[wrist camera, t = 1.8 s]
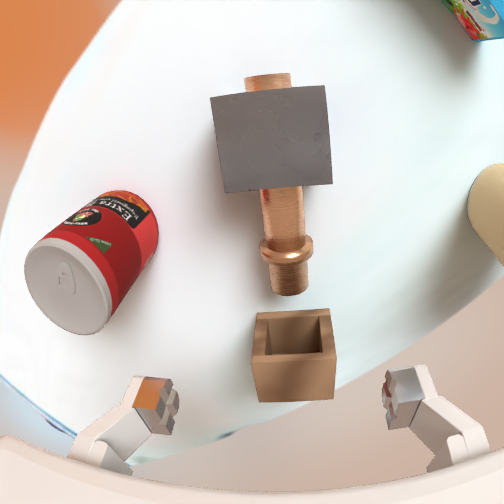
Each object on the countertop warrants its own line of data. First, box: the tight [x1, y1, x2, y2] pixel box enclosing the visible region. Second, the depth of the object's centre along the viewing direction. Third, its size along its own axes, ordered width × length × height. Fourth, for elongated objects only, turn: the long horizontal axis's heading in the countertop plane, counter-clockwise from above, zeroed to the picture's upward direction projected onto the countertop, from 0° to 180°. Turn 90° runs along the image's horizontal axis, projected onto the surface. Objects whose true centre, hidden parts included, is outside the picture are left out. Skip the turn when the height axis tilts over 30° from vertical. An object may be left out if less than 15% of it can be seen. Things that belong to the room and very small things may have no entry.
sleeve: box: [210, 85, 333, 193], centre depth 21 cm, size 7×6×6 cm
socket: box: [251, 308, 337, 402], centre depth 30 cm, size 7×6×7 cm
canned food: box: [24, 191, 159, 335], centre depth 24 cm, size 8×8×11 cm
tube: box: [244, 73, 313, 296], centre depth 22 cm, size 4×16×4 cm, turn 7°
